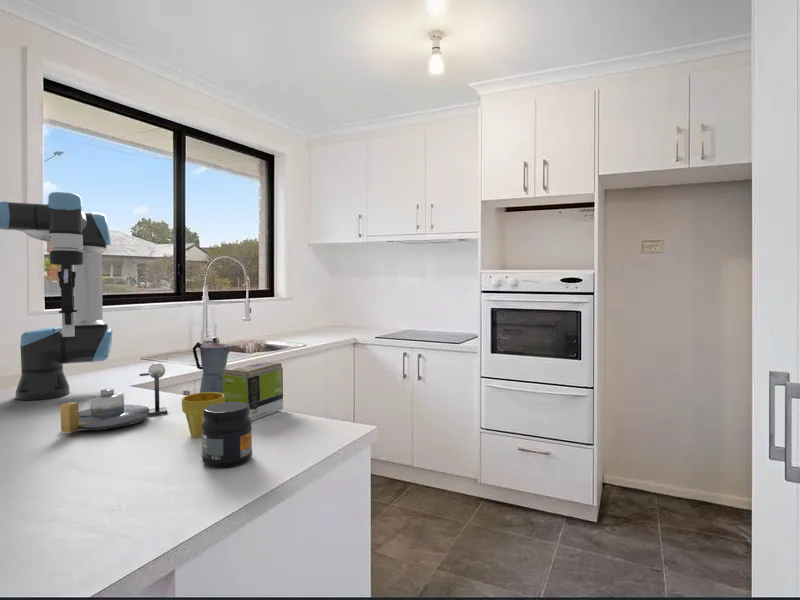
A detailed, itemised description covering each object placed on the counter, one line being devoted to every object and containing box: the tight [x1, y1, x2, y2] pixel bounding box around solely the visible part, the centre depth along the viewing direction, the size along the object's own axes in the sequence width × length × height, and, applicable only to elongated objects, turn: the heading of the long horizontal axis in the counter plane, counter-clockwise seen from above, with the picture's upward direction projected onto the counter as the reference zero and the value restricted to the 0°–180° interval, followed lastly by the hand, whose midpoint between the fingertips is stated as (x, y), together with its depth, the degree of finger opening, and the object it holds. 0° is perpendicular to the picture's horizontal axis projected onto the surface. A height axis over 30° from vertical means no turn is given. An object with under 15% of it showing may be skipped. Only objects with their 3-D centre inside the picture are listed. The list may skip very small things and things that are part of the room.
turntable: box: [59, 401, 150, 434], centre depth 134 cm, size 20×22×7 cm
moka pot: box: [192, 337, 232, 393], centre depth 170 cm, size 10×15×20 cm, turn 78°
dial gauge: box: [138, 362, 169, 417], centre depth 146 cm, size 5×7×15 cm
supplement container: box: [201, 402, 253, 469], centre depth 108 cm, size 10×10×12 cm
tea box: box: [222, 360, 284, 421], centre depth 145 cm, size 15×10×15 cm, turn 154°
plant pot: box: [181, 392, 225, 438], centre depth 127 cm, size 10×10×10 cm
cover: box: [89, 388, 125, 418], centre depth 136 cm, size 8×8×7 cm
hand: (68, 336), depth 134 cm, fingers closed
